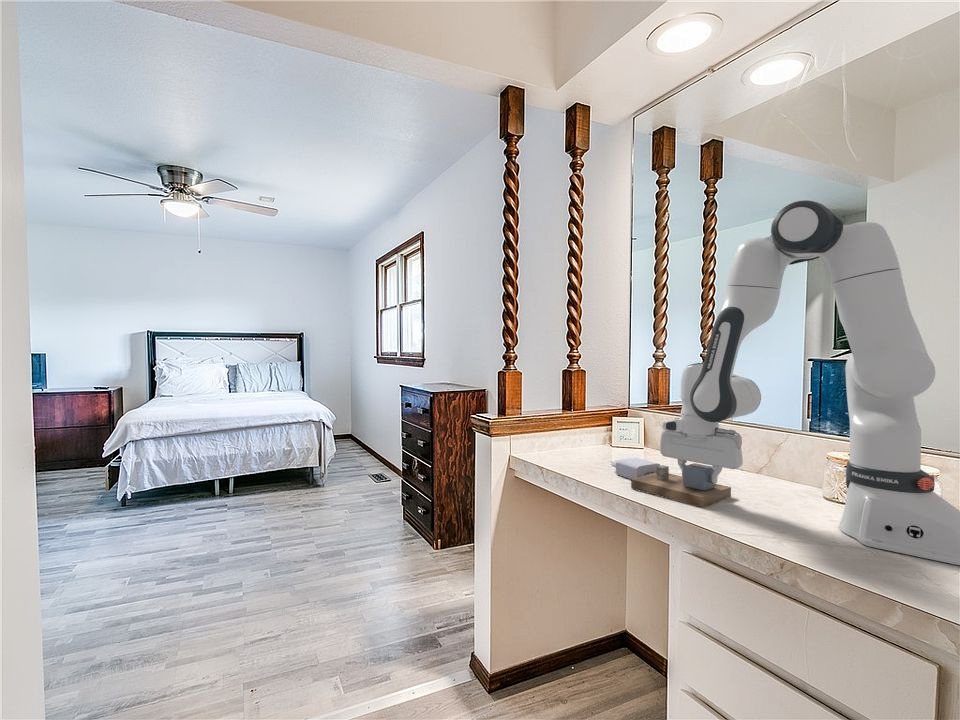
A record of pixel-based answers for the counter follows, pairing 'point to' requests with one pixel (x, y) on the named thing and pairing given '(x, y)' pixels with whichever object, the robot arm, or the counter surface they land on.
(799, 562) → the counter surface
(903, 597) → the counter surface
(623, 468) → the charger
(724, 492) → the board
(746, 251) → the robot arm
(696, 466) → the blue-grey cube block
